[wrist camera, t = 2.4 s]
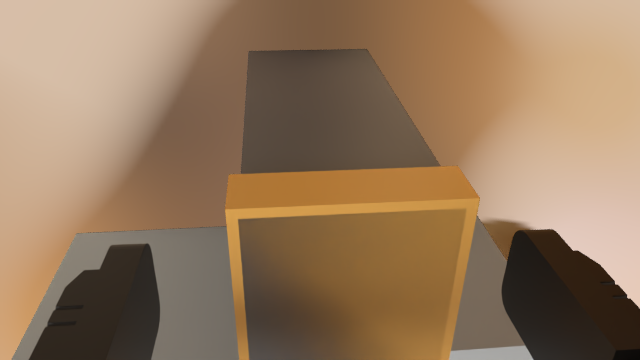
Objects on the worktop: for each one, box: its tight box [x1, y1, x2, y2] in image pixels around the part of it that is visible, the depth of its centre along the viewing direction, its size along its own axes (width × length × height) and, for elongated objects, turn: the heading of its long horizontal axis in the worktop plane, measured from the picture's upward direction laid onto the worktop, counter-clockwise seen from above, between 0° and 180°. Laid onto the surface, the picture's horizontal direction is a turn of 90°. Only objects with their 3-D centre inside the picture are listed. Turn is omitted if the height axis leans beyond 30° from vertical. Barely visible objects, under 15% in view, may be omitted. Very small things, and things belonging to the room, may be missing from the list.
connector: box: [225, 49, 480, 360], centre depth 14 cm, size 4×4×10 cm
